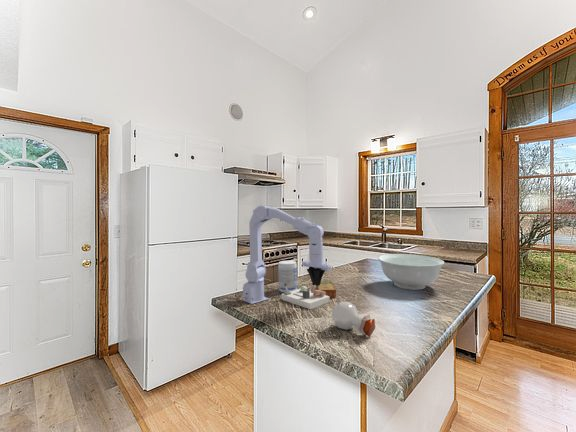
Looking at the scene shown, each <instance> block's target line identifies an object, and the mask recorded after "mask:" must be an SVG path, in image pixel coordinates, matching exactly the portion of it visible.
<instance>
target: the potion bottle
mask: <svg viewBox="0 0 576 432" xmlns="http://www.w3.org/2000/svg"><path fill="white" fill-rule="evenodd" d="M331 317H332V318H331V320H332V321H333V323H334V325H335V326H336V327H338V328H339V329H340V330H351V329H353V328H356V329H357V330H358V332H359V333H360V334H362V335H363V336H365V335H366V336H367V337H368V338H370V337H371V336H372V334H373V332H374V331H375V329H376V320H375V318H372V319H371V317H370V314H368V315H365V316H363V315H361V314H360V313H359V311H358V309H357V306H356V305H355V304H353V303H351V302H350V301H339V303H337V304H336V305H335V306H334V307H333V308H332V310H331Z"/></svg>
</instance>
